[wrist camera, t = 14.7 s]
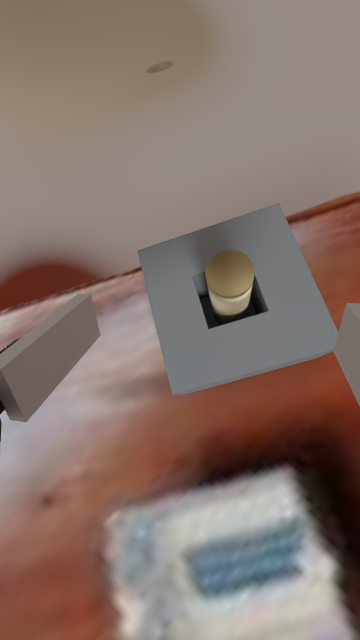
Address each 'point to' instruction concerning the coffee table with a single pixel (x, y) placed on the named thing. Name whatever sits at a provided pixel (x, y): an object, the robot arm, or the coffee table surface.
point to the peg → (229, 285)
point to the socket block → (263, 310)
